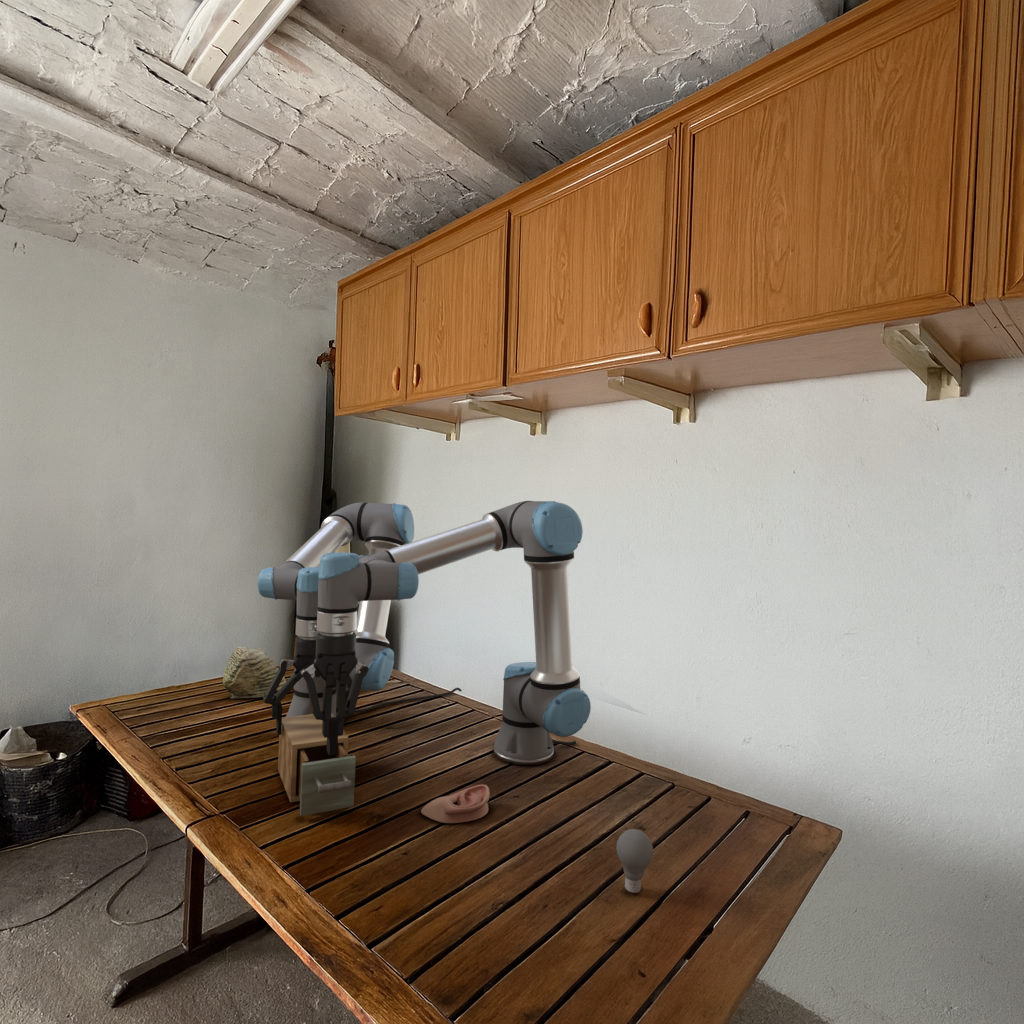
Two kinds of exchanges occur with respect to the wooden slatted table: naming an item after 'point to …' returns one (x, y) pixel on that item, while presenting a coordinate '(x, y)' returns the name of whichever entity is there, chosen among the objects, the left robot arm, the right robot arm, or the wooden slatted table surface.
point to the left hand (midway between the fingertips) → (310, 728)
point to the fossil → (249, 673)
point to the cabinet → (299, 747)
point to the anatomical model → (459, 806)
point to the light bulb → (634, 857)
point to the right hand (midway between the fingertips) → (331, 752)
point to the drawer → (324, 779)
